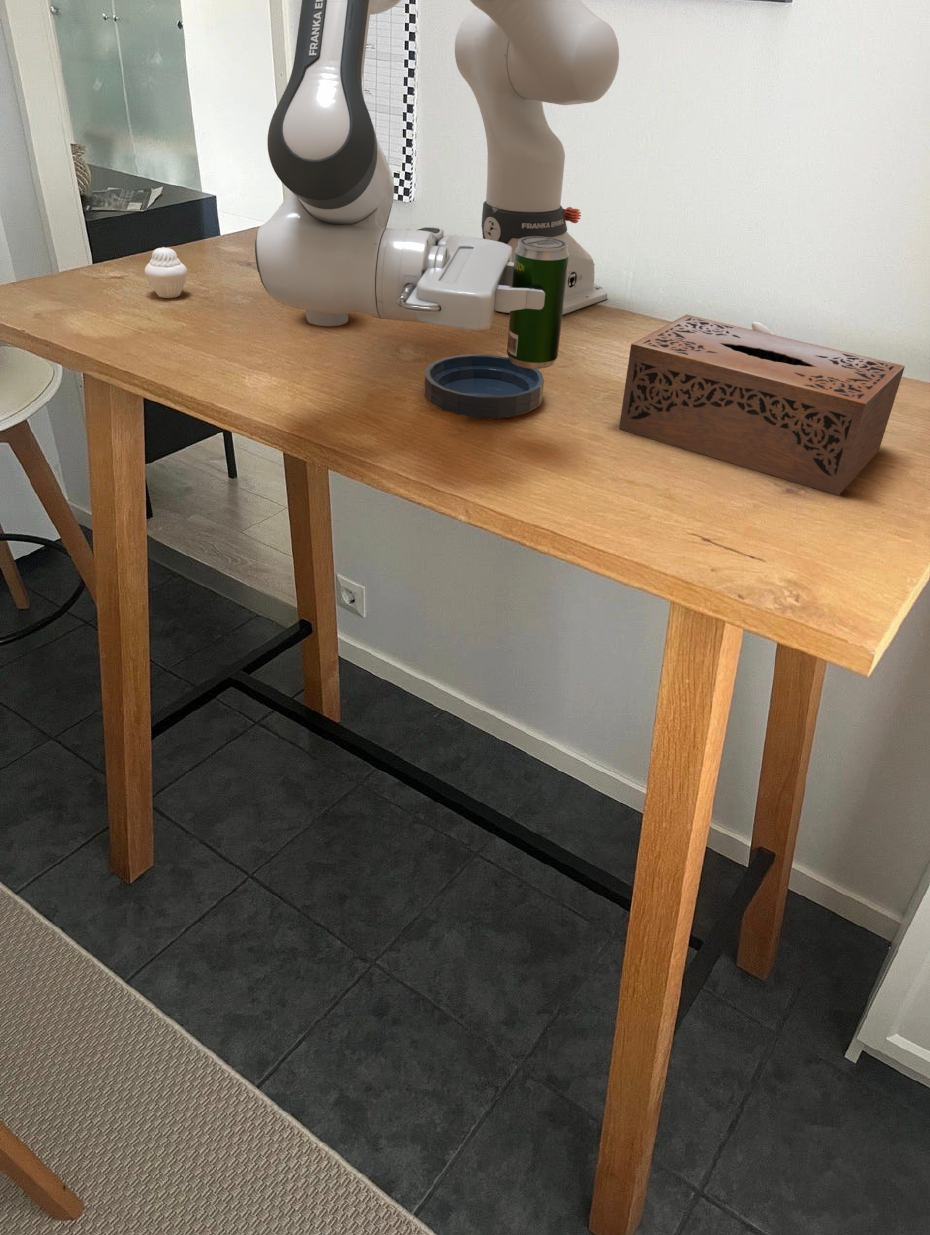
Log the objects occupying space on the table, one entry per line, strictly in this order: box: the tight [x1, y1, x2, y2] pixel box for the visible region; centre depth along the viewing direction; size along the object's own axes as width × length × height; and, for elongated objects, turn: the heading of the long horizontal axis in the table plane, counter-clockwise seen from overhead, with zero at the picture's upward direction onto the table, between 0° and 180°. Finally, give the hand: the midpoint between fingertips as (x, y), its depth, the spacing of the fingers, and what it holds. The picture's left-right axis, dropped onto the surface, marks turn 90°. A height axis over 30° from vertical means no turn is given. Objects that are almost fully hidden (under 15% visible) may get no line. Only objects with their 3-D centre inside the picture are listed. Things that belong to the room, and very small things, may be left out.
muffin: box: [144, 246, 188, 299], centre depth 146 cm, size 6×6×7 cm
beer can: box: [506, 236, 569, 370], centre depth 100 cm, size 5×5×12 cm
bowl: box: [424, 354, 545, 420], centre depth 119 cm, size 14×14×3 cm
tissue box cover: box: [618, 314, 906, 496], centre depth 110 cm, size 26×14×10 cm, turn 55°
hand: (547, 289), depth 99 cm, fingers closed on beer can, 5 cm apart
